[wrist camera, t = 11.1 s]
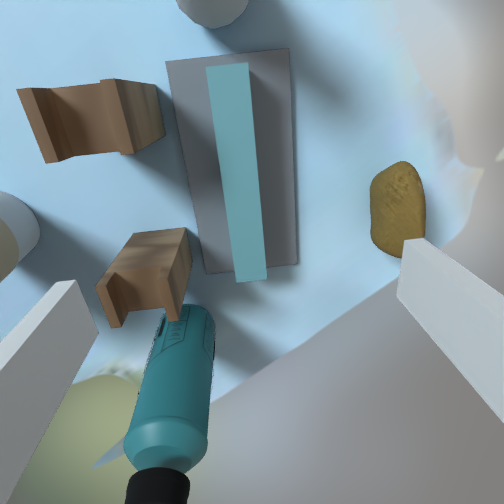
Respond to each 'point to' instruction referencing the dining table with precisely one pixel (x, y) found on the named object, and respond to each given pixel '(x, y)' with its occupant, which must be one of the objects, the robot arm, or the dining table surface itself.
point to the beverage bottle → (172, 409)
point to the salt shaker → (213, 11)
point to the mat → (267, 153)
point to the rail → (238, 167)
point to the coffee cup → (15, 232)
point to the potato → (397, 208)
